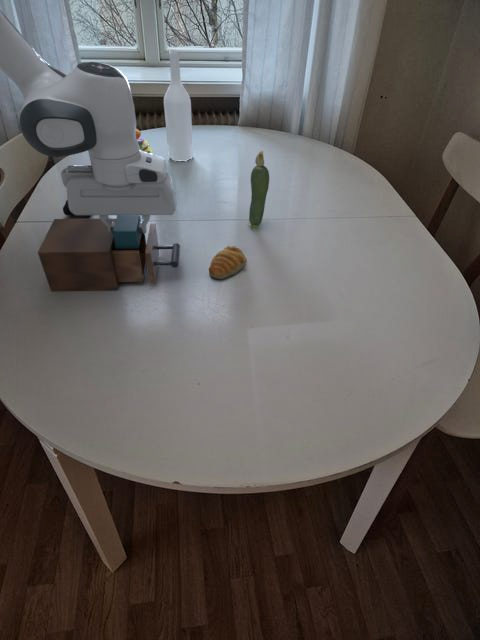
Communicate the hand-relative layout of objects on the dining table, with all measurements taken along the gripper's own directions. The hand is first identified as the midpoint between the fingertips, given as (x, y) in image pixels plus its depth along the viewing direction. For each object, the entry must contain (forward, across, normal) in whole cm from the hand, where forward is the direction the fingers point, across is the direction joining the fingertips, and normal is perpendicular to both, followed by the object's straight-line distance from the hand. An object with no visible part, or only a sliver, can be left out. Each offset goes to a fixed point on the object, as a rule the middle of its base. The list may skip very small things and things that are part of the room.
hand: (128, 232), depth 87 cm
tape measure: (+10, -17, +25) cm, 32 cm away
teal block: (+2, 0, 0) cm, 2 cm away
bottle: (+10, +7, +62) cm, 63 cm away
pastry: (+10, +20, +1) cm, 23 cm away
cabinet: (+10, -10, 0) cm, 14 cm away
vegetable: (+10, +28, +18) cm, 35 cm away
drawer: (+9, +1, 0) cm, 9 cm away
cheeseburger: (+10, -8, +62) cm, 63 cm away
